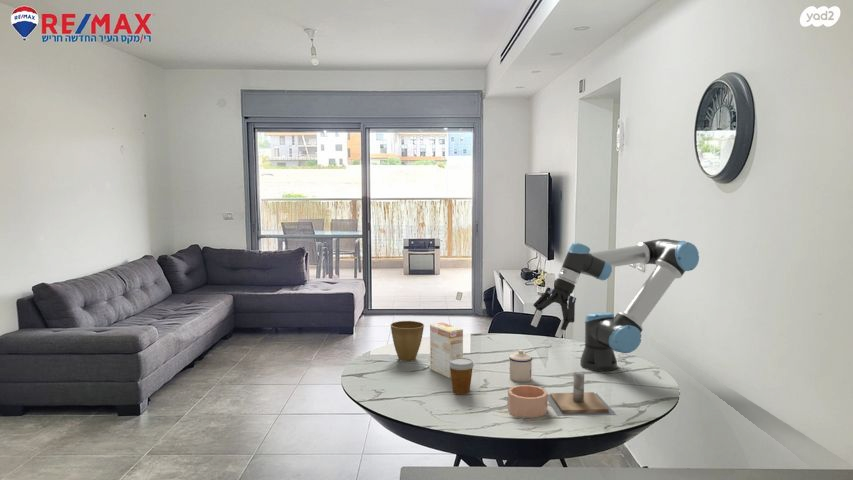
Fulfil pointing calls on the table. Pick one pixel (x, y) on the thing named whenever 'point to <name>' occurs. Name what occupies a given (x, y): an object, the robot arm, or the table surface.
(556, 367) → the table surface
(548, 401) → the rubber mat
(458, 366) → the disposable coffee cup
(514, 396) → the bowl
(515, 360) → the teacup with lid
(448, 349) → the coffeecake box
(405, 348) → the plant pot
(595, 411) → the lid board
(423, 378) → the table surface
